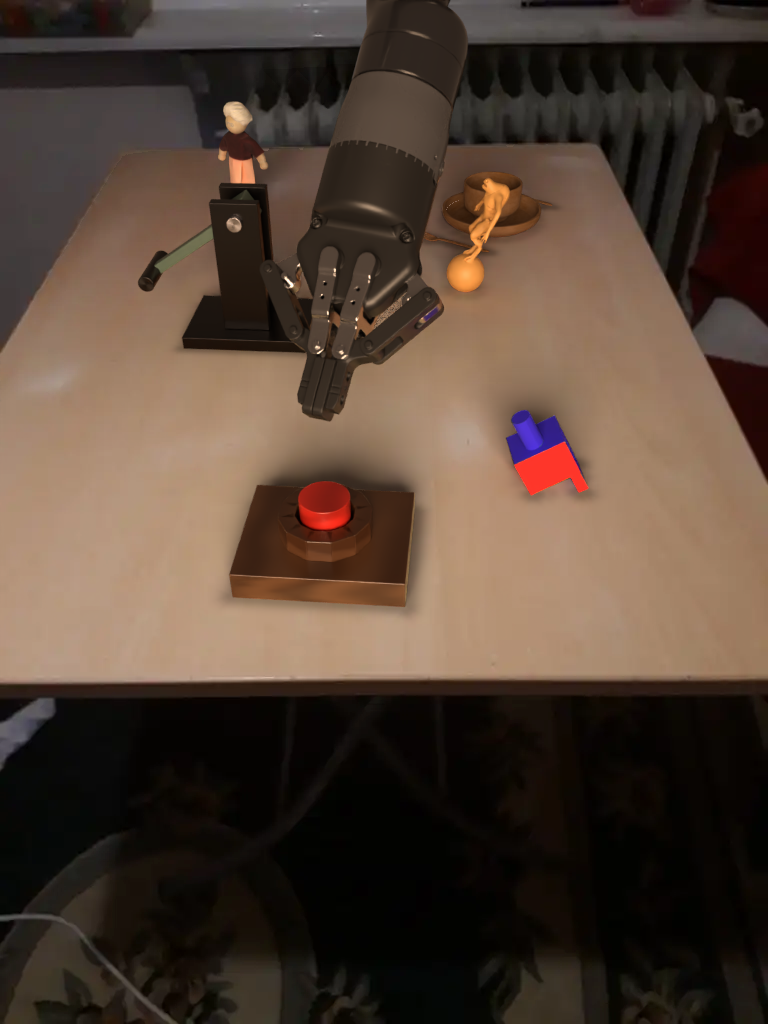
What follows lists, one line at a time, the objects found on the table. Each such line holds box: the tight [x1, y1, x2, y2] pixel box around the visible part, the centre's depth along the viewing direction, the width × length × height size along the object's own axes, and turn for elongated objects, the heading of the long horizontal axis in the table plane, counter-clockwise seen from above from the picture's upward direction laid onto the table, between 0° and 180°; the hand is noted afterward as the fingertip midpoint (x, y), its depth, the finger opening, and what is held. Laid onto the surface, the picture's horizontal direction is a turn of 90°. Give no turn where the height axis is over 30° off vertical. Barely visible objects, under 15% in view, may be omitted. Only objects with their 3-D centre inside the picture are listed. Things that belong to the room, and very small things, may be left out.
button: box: [298, 480, 351, 531], centre depth 66 cm, size 4×4×2 cm
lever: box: [137, 190, 262, 293], centre depth 90 cm, size 13×6×2 cm
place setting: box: [424, 171, 553, 253], centre depth 115 cm, size 18×20×6 cm
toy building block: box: [505, 409, 589, 496], centre depth 74 cm, size 4×4×8 cm
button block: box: [228, 483, 416, 608], centre depth 68 cm, size 12×10×4 cm
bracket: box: [181, 182, 313, 354], centre depth 91 cm, size 12×9×14 cm
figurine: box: [446, 178, 510, 293], centre depth 97 cm, size 8×6×12 cm
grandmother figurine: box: [217, 101, 269, 184], centre depth 115 cm, size 8×4×13 cm, turn 67°
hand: (316, 416), depth 61 cm, fingers closed
